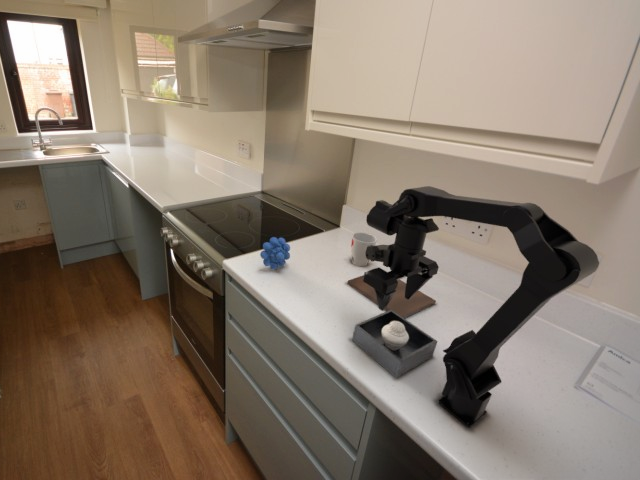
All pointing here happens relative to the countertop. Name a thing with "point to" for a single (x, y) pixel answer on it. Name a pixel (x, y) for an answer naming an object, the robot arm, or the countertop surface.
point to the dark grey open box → (394, 360)
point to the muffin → (394, 335)
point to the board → (395, 298)
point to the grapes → (275, 252)
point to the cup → (361, 247)
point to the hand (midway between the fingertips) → (394, 303)
